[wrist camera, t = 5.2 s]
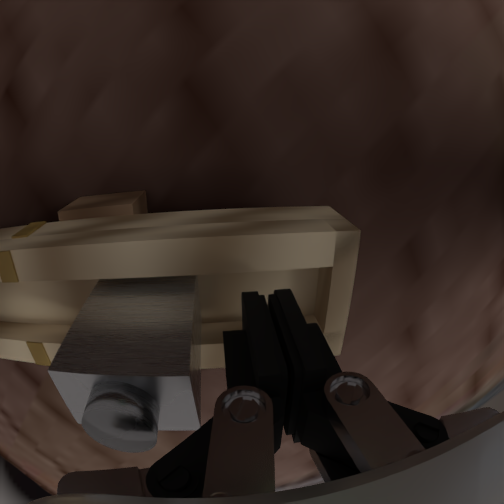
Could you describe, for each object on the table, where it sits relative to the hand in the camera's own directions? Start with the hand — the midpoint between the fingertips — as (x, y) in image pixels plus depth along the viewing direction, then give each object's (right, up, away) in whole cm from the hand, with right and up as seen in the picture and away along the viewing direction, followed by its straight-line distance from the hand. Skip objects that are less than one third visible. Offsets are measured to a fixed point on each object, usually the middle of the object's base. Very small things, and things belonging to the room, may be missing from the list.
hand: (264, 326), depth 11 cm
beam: (-8, +3, +6) cm, 11 cm away
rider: (-5, +1, +2) cm, 5 cm away
